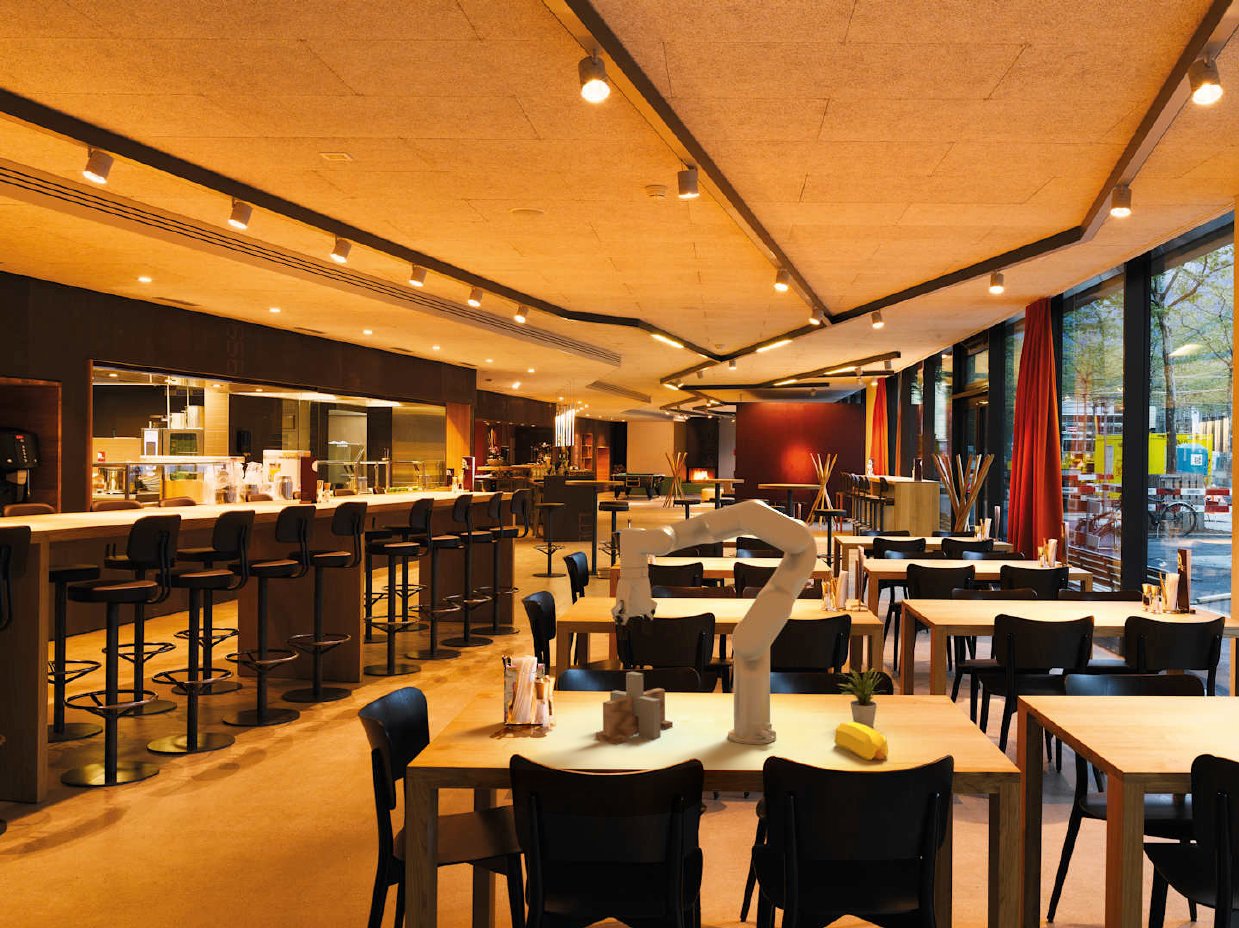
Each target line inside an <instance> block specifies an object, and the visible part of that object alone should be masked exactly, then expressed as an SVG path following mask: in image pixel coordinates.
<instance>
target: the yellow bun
mask: <svg viewBox="0 0 1239 928" xmlns="http://www.w3.org/2000/svg"><path fill="white" fill-rule="evenodd" d="M834 744H835V745H836V746H837V747H838V748H841V749H843V750H845V751H849V752H851V753H854V754H855V755H857V756H859V757H860V758H861V759H864V760H866V761H870V760H872V759H873V758H874V759H876V760H877V761H878V760H883V759H886V758H888V755H889V746H888V742H887V738H886V737H885V736H884V735H883V734H882V733H880V732H878V731H877V730H875V729H873V728H870V727H868V726H866V725H862V724H859V723H856V722H854V721H850V722H847V723H846V722H841V723H840V724H839V725H838V727H836V729H835V733H834Z"/></svg>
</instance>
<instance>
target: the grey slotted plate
mask: <svg viewBox="0 0 1239 928" xmlns="http://www.w3.org/2000/svg"><path fill="white" fill-rule="evenodd" d="M625 689H626V690H625V691H621V690H612V691H610V692H609V693H610V695H609V699H610V700H614V699H618V698H622V697H629V698H632V715H634V716H638V717H639V734H638V736H639V735H641V736H640V737H643V736H644V738H647V739H652V740H657V739H660V738H661V728H660V699H655V698H650V697H646V696H643V692H644V673H643V672H642V673H641V672H636V671H630V672H629V671H628V672H626V673H625ZM610 700H609V701H610Z"/></svg>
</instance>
